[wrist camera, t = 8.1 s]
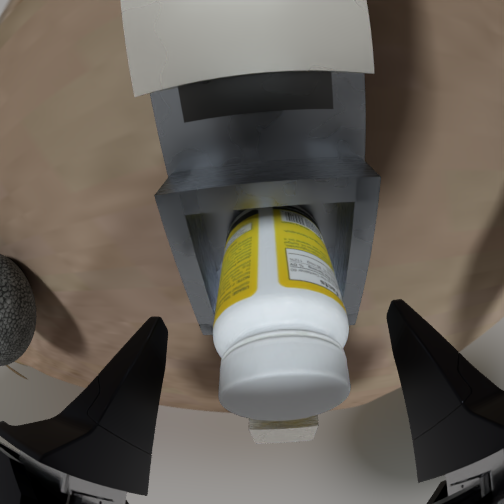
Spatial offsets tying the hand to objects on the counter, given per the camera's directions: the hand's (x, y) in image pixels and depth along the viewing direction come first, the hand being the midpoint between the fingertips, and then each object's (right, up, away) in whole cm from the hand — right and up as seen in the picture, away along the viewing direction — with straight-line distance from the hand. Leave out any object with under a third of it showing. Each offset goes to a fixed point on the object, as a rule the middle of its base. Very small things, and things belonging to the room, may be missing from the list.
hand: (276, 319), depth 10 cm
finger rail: (0, +4, +5) cm, 7 cm away
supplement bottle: (0, +3, +4) cm, 5 cm away
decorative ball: (-23, +1, +9) cm, 25 cm away
